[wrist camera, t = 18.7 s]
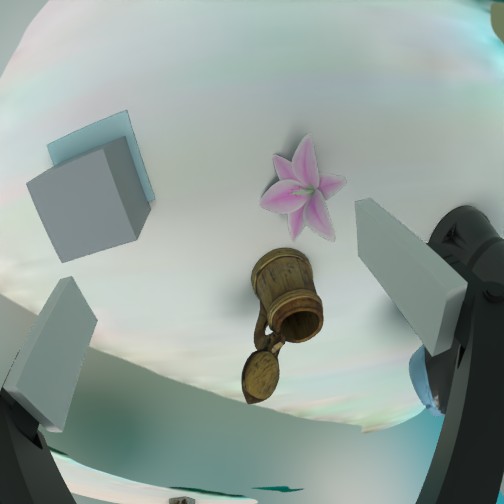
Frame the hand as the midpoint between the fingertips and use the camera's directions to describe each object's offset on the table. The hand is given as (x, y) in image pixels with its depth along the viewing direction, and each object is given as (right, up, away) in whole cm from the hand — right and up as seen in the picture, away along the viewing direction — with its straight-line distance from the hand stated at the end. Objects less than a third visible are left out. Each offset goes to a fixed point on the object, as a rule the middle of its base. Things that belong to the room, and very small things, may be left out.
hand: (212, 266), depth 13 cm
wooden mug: (+4, -4, +34) cm, 34 cm away
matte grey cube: (-17, +9, +23) cm, 30 cm away
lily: (+7, +10, +27) cm, 29 cm away
